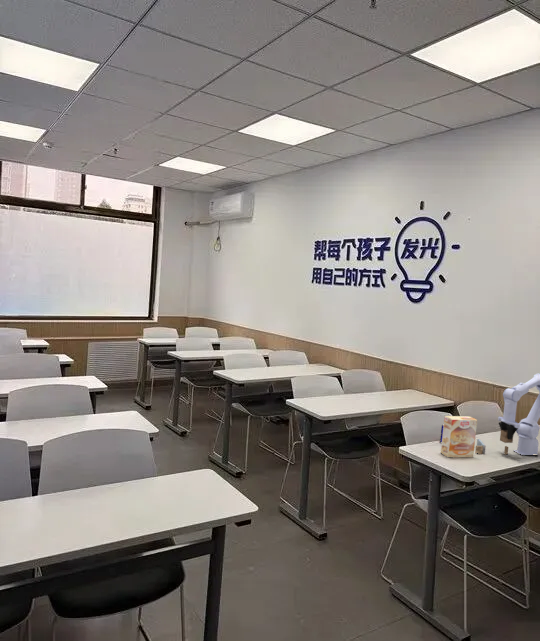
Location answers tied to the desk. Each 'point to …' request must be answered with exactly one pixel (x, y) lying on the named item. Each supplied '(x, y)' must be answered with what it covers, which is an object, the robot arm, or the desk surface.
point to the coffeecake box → (458, 436)
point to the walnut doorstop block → (505, 437)
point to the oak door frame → (480, 449)
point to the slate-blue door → (479, 443)
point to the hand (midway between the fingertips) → (506, 437)
